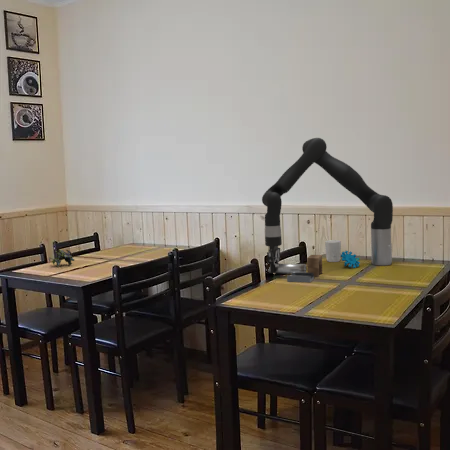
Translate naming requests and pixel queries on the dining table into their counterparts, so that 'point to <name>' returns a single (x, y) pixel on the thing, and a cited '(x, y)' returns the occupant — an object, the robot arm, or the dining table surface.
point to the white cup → (333, 250)
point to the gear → (350, 259)
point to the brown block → (314, 265)
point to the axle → (289, 268)
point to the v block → (300, 277)
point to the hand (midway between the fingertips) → (274, 271)
